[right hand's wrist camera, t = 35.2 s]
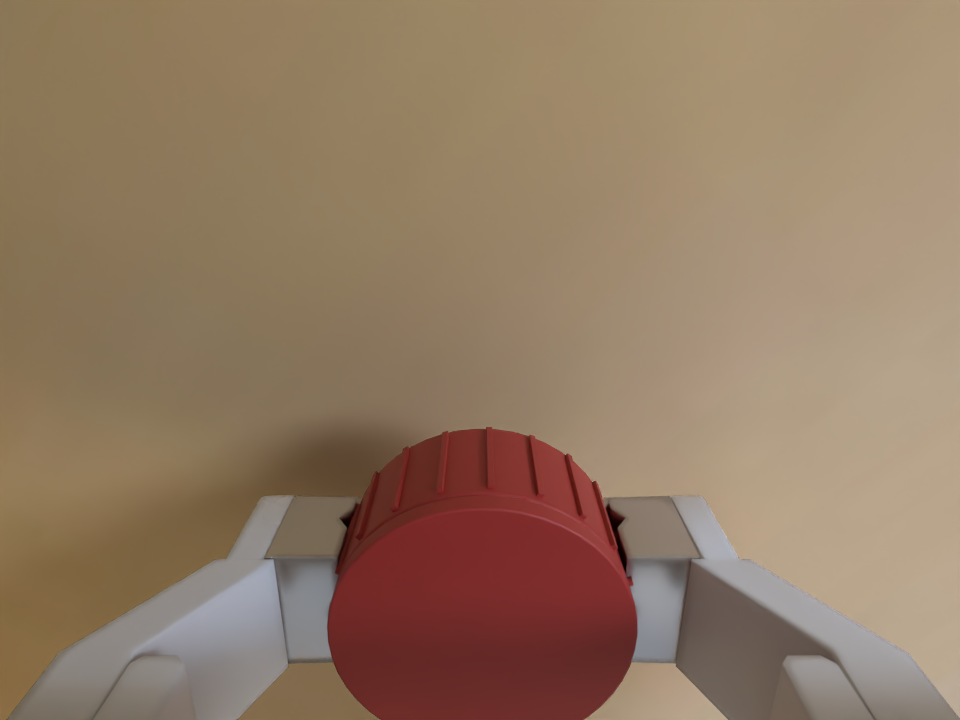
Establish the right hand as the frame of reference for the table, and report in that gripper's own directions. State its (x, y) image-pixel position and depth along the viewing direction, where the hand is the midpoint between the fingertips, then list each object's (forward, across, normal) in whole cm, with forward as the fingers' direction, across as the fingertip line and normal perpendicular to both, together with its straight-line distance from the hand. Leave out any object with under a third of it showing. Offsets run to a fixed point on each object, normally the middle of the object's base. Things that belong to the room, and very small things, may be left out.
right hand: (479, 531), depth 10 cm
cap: (-2, 0, 0) cm, 2 cm away
